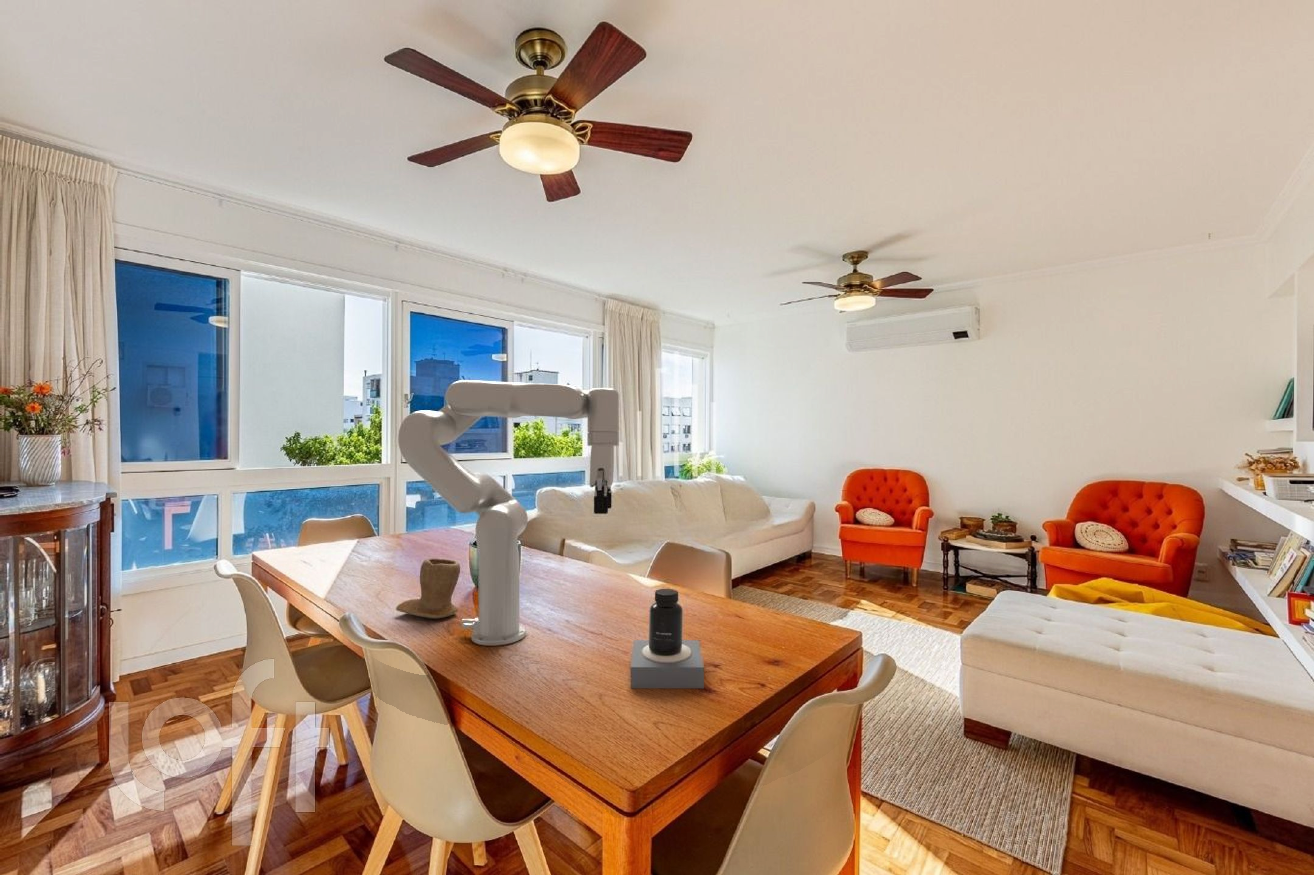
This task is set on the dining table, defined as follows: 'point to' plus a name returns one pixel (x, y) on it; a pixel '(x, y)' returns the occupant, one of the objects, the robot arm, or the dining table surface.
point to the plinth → (667, 667)
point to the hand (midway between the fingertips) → (603, 510)
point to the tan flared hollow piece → (434, 590)
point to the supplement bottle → (665, 623)
